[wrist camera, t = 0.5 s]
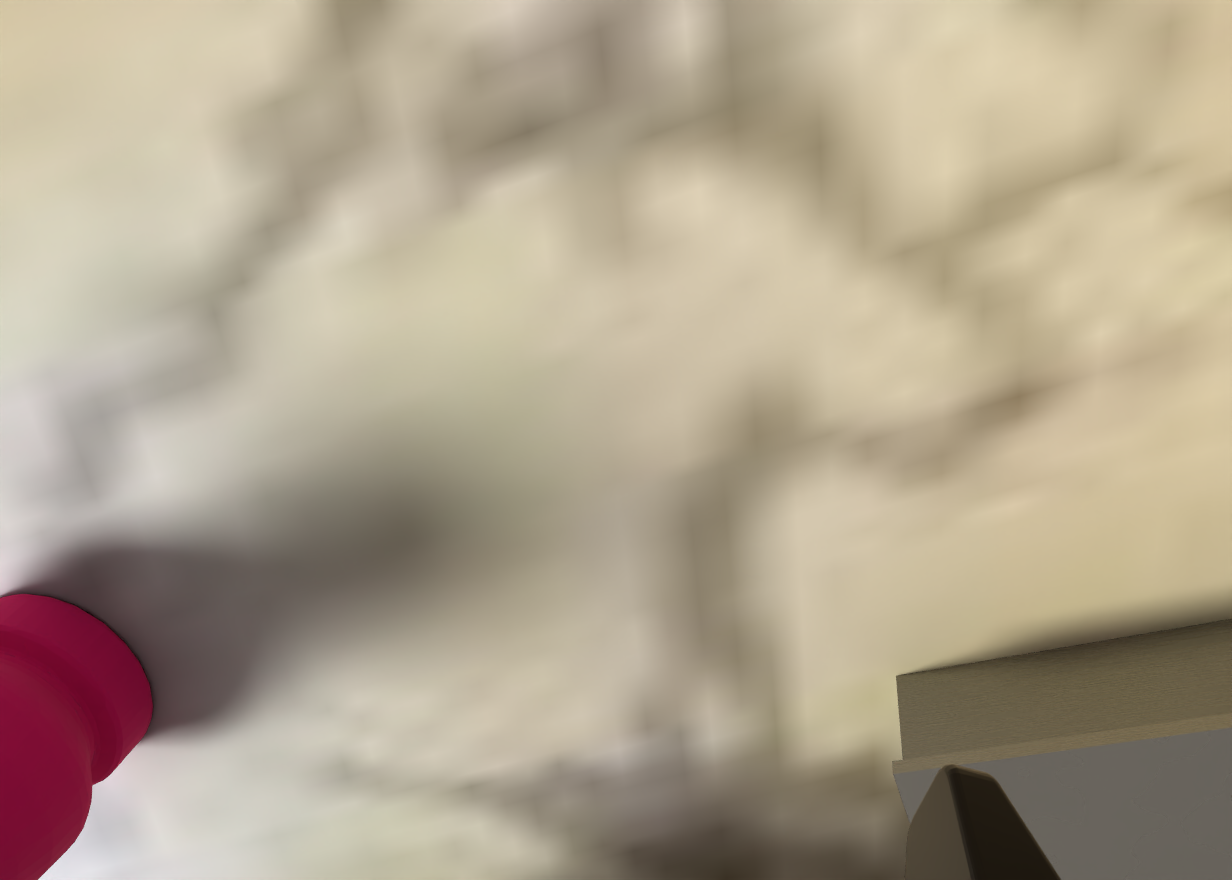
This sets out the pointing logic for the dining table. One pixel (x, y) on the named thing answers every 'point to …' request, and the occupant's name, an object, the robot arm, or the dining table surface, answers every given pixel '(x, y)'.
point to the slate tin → (1092, 748)
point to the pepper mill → (59, 724)
